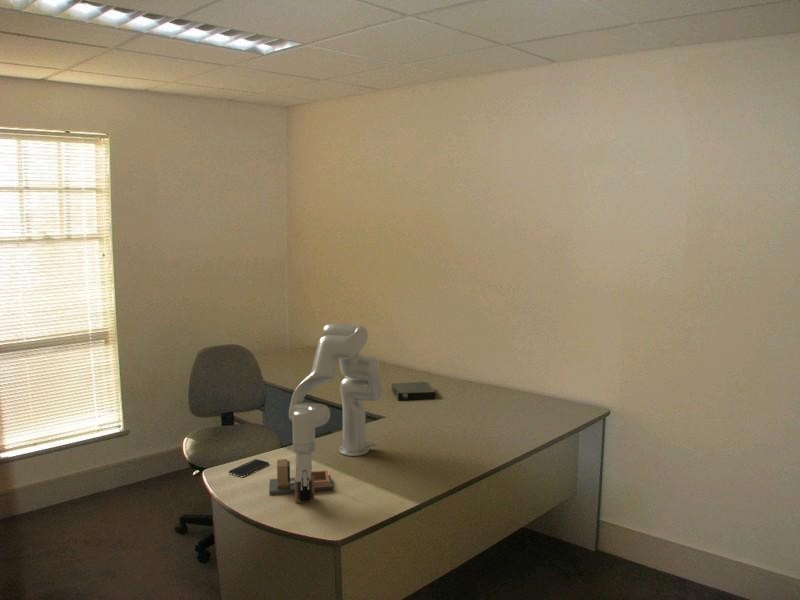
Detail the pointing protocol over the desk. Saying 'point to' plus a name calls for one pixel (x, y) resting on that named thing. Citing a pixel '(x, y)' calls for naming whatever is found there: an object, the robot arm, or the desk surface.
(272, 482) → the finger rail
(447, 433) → the desk surface
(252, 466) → the phone
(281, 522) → the desk surface
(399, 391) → the network switch
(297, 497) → the small cardboard box
